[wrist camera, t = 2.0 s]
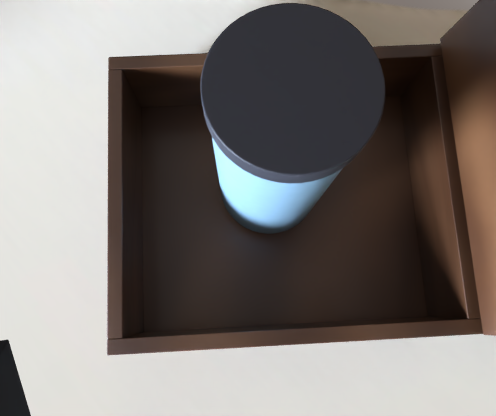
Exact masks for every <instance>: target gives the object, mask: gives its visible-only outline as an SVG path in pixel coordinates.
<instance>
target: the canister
mask: <svg viewBox="0 0 496 416" xmlns="http://www.w3.org/2000/svg"><path fill="white" fill-rule="evenodd" d="M200 90H201V100H202V106H203V112H204V117H205V120H206V124H207V127H208V129H209V131H210V134H211V136H212V141H213V147H214V153H215V159H216V165H217V172H218V178H219V184H220V190H221V196H222V199H223V203H224V205H225V207H226V209H227V211H228V212H229V214H230V215H231V216H232V217H233V219H235V220H236V221H237V222H238V223H239V224H241V225H242V226H243V227H245V228H247V229H249V230H252V231H255V232H259V233H266V234H272V233H280V232H283V231H286V230H289V229H291V228H293V227H294V226H296V225H297V224H299V223H300V222H301V221H302V220H303V219H304V218H305V217H306V216H307V214H308V213H309V212H310V211H311V209H312V208H313V207H314V205H315V204H316V203H317V201H318V200H319V199H320V197H321V196H322V195H323V194H324V192H325V191H326V190H327V188H328V187H329V186H330V184H331V183H332V182H333V180H334V179H335V178H336V176H337V175H338V174H339V173H340V171H341V170H342V169H343V168H344V167H345V166H346V165H347V164H349V163H350V162H351V161H352V160H353V159H354V158H355V157H356V156H357V155H358V154H359V153H360V152H361V150H362V149H363V148H364V147H365V145H366V144H367V143H368V141H369V140H370V139H371V137H372V136H373V134H374V133H375V131H376V129H377V127H378V125H379V122H380V120H381V117H382V114H383V109H384V104H385V80H384V75H383V71H382V67H381V64H380V62H379V59H378V57H377V55H376V53H375V51H374V49H373V47H372V46H371V45H370V43H369V42H368V40H367V39H366V38H365V37H364V36H363V34H362V33H361V32H360V31H359V30H358V29H357V28H355V27H354V26H353V25H352V24H351V23H349V22H348V21H346V20H345V19H343V18H342V17H340V16H339V15H337V14H334V13H332V12H330V11H328V10H325V9H322V8H319V7H316V6H311V5H307V4H298V3H282V4H275V5H269V6H266V7H262V8H259V9H256V10H254V11H251V12H249V13H247V14H245V15H244V16H242V17H240V18H238V19H237V20H236V21H234V22H233V23H232V24H230V25H229V26H228V27H227V28H226V29H225V30H224V31H223V32H222V33H221V34H220V36H219V37H218V38H217V39H216V41H215V42H214V44H213V45H212V47H211V49H210V50H209V52H208V55H207V57H206V59H205V62H204V66H203V69H202V74H201V82H200Z"/></svg>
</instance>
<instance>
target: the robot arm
mask: <svg viewBox="0 0 496 416" xmlns="http://www.w3.org/2000/svg"><path fill="white" fill-rule="evenodd" d="M0 416H31V415H30V411H29V408H28V405H27V401H26V398H25V395H24V391H23V388H22V384H21V381H20V378H19V374H18V371H17V368H16V364H15V361H14V357H13V354H12V351H11V347H10V344H9V341H8V340H2V341H0Z"/></svg>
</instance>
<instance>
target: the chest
mask: <svg viewBox="0 0 496 416" xmlns="http://www.w3.org/2000/svg"><path fill="white" fill-rule="evenodd" d="M373 49H374V51H375V53H376V55H377V57H378V59H379V62H380V64H381V67H382V71H383V75H384V80H385V104H384V109H383V114H382V117H381V120H380V122H379V125H378V127H377V129H376V131H375V133H374V134H373V136H372V137H371V139H370V140H369V141H368V143H367V144H366V145H365V147H364V148H363V149H362V150H361V152H360V153H359V154H358V155H357V156H356V157H355V158H354V159H353V160H352V161H351V162H350V163H349V164H347V165H346V166H345V167H344V168H343V169H342V170H341V171H340V173H339V174H338V175H337V176H336V178H335V179H334V180H333V182H332V183H331V184H330V186H329V187H328V188H327V190H326V191H325V192H324V194H323V195H322V196H321V197H320V199H319V200H318V201H317V203H316V204H315V205H314V207H313V208H312V209H311V211H310V212H309V213H308V214H307V216H306V217H305V218H304V219H303V220H302V221H301V222H300V223H299V224H297V225H296V226H294V227H293V228H291V229H289V230H286V231H283V232H280V233H272V234H266V233H259V232H255V231H252V230H249V229H247V228H245V227H243V226H242V225H241V224H239V223H238V222H237V221H236V220H235V219H233V217H232V216H231V215H230V214H229V212H228V211H227V209H226V207H225V205H224V203H223V199H222V196H221V190H220V184H219V178H218V172H217V165H216V159H215V153H214V147H213V141H212V136H211V134H210V131H209V129H208V127H207V124H206V120H205V117H204V112H203V106H202V100H201V90H200V82H201V74H202V69H203V66H204V62H205V59H206V57H207V55H208V53H203V54H178V55H153V56H128V57H109V64H108V69H109V71H108V295H107V338H108V339H107V355H121V354H138V353H156V352H173V351H191V350H208V349H225V348H243V347H260V346H278V345H295V344H313V343H330V342H348V341H365V340H382V339H400V338H417V337H435V336H452V335H470V334H483V329H482V322H481V315H480V308H479V301H478V294H477V288H476V281H475V274H474V267H473V260H472V253H471V247H470V240H469V233H468V226H467V219H466V212H465V205H464V199H463V192H462V185H461V178H460V171H459V164H458V157H457V151H456V144H455V137H454V130H453V123H452V116H451V109H450V103H449V96H448V89H447V82H446V75H445V68H444V62H443V55H442V48H441V44H428V45H403V46H378V47H373Z"/></svg>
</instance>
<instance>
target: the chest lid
mask: <svg viewBox="0 0 496 416" xmlns="http://www.w3.org/2000/svg"><path fill="white" fill-rule="evenodd" d="M440 41H441V48H442V55H443V62H444V68H445V75H446V82H447V89H448V96H449V103H450V109H451V116H452V123H453V130H454V137H455V144H456V151H457V157H458V164H459V171H460V178H461V185H462V192H463V199H464V205H465V212H466V219H467V226H468V233H469V240H470V247H471V253H472V260H473V267H474V274H475V281H476V288H477V294H478V301H479V308H480V315H481V322H482V329H483V334H484V335H494V336H496V0H479V1H478V2H477V3H476V4H475V5H474V6H473V7H472V8H471V9H470V10H469V11H468V12H467V13H466V14H465V15H464V16H463V17H462V18H461V19H460V20H459V21H458V22H457V23H456V24H455V25H454V26H453V27H452V28H451V29H450V30H449V31H448V32H447V33H446V34H445V35H444V36H443V37H442V38H441V39H440Z"/></svg>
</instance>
